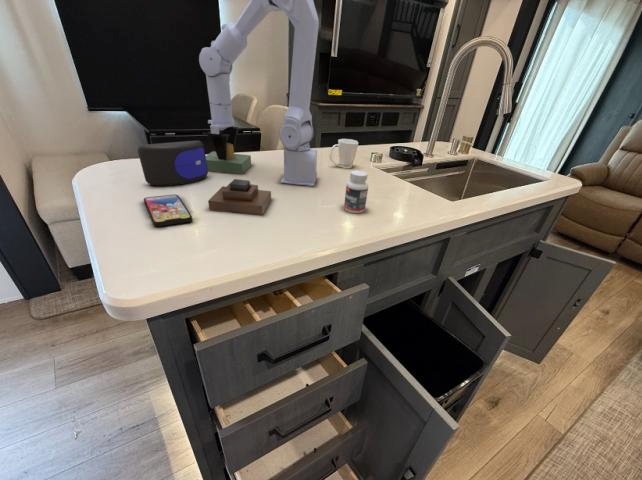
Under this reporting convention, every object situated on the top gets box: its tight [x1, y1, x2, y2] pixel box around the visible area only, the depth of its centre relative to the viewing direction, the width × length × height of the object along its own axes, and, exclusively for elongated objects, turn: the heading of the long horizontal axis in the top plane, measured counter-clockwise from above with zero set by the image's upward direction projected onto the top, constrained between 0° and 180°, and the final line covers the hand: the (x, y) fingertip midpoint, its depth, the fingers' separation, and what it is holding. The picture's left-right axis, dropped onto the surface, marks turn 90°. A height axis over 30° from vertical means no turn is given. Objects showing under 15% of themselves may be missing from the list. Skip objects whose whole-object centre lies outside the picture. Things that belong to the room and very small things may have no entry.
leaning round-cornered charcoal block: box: [137, 140, 209, 187], centre depth 82 cm, size 16×5×9 cm, turn 134°
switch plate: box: [207, 183, 272, 216], centre depth 75 cm, size 12×10×4 cm
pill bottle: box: [343, 170, 369, 214], centre depth 78 cm, size 5×5×9 cm
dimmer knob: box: [226, 143, 235, 159], centre depth 96 cm, size 4×4×4 cm
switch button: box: [229, 178, 251, 192], centre depth 74 cm, size 4×4×2 cm
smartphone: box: [143, 194, 193, 227], centre depth 70 cm, size 7×1×15 cm
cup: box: [329, 138, 359, 169], centre depth 108 cm, size 7×10×8 cm
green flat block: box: [205, 151, 252, 175], centre depth 98 cm, size 12×10×3 cm
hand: (226, 156), depth 97 cm, fingers open, 7 cm apart
